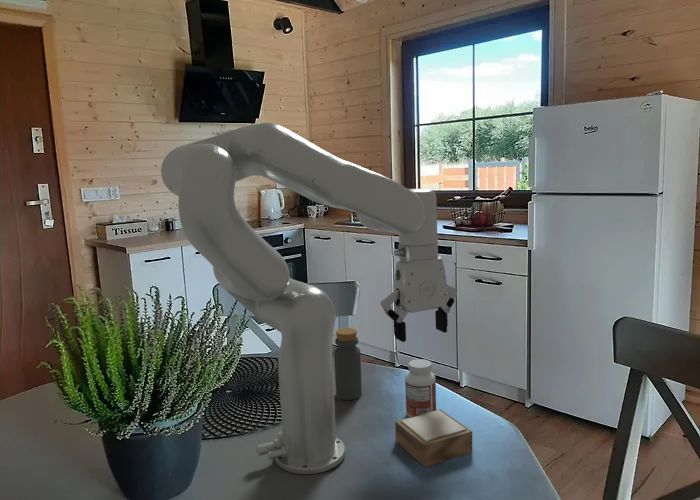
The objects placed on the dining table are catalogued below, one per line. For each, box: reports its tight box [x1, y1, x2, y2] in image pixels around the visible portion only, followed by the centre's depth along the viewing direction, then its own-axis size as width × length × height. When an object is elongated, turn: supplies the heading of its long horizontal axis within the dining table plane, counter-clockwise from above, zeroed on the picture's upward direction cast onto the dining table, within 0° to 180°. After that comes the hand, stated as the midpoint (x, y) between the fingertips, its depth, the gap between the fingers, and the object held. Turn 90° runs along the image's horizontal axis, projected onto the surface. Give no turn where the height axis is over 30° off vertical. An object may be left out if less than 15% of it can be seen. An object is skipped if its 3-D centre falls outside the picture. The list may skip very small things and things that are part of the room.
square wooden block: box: [394, 408, 473, 468], centre depth 101 cm, size 10×10×4 cm
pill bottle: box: [404, 358, 437, 418], centre depth 113 cm, size 6×6×11 cm
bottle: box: [333, 327, 363, 401], centre depth 123 cm, size 6×6×15 cm
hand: (421, 335), depth 111 cm, fingers open, 9 cm apart
